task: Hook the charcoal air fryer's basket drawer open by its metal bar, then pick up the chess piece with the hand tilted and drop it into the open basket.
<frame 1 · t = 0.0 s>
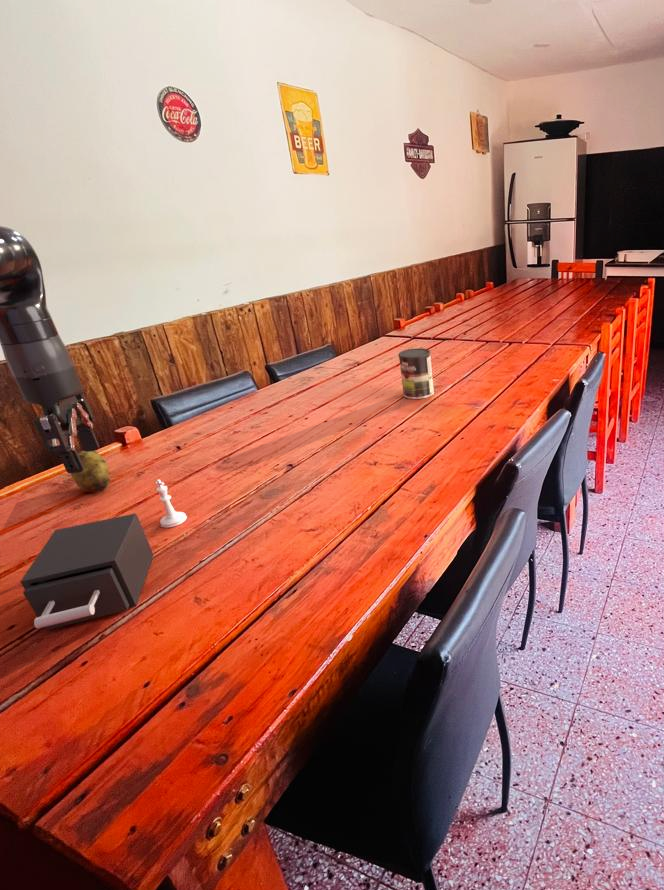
hand: (84, 460, 86), 22 cm above the table, tool pointing down, fingers open, 8 cm apart
fryer: (105, 588, 89), on the table
coffee can: (419, 394, 170), on the table
basket: (85, 584, 83), point 5 cm above the table, slide at 0.5 cm
chess piece: (174, 521, 108), on the table
potato: (96, 486, 124), on the table
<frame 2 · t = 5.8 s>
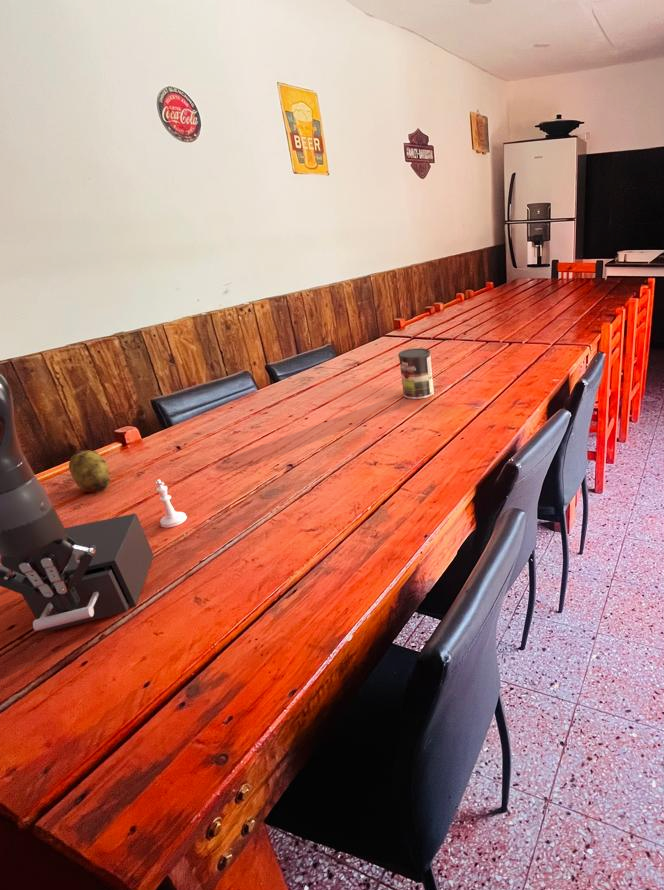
hand: (70, 609, 77), 6 cm above the table, tool pointing down, fingers closed
basket: (84, 586, 83), point 5 cm above the table, slide at 1.0 cm
everything else where it was.
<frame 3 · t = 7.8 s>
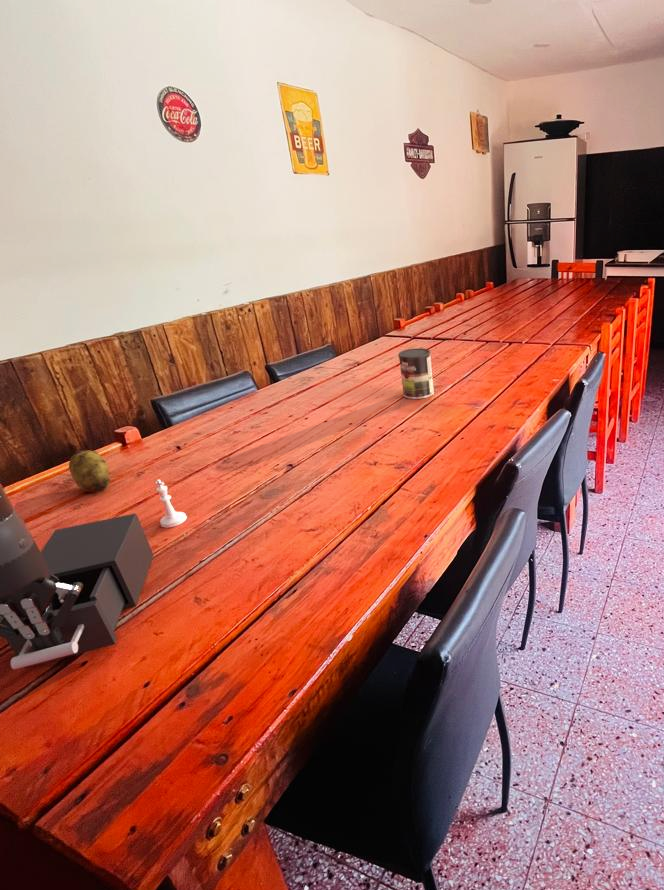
hand: (53, 650, 71), 5 cm above the table, tool pointing down, fingers closed
basket: (69, 617, 77), point 5 cm above the table, slide at 8.2 cm
everything else where it was.
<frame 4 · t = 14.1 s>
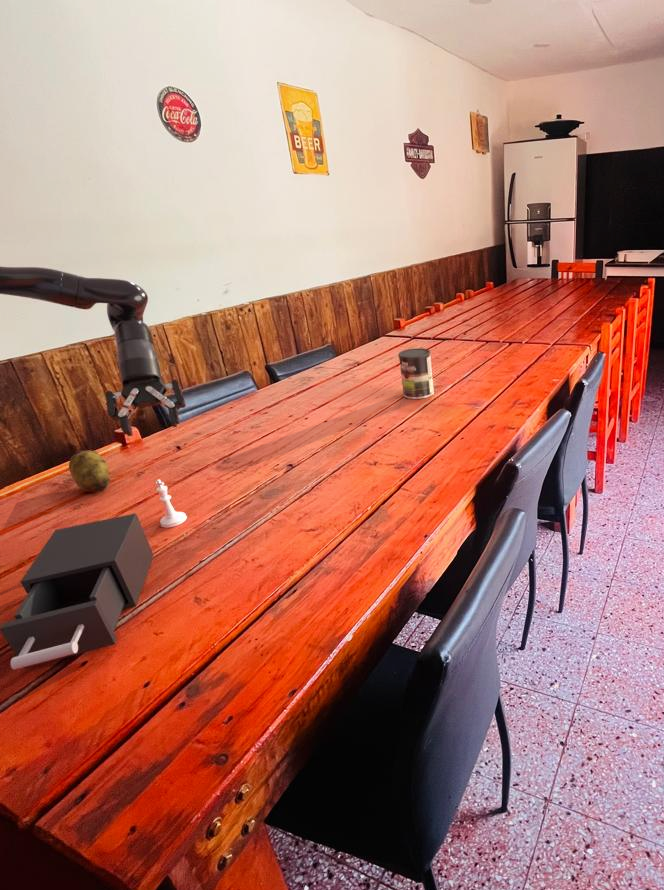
hand: (152, 430, 109), 17 cm above the table, tool tilted 45°, fingers open, 8 cm apart
nothing on the table moved.
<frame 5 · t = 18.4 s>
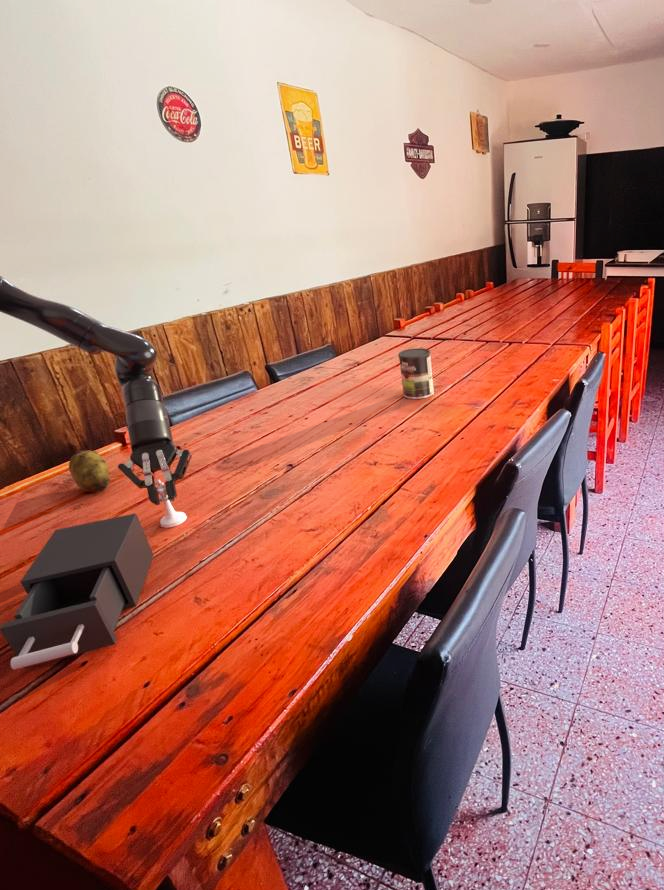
hand: (164, 501, 103), 6 cm above the table, tool tilted 45°, fingers closed on chess piece
chess piece: (174, 521, 108), on the table, touching gripper
everything else where it was.
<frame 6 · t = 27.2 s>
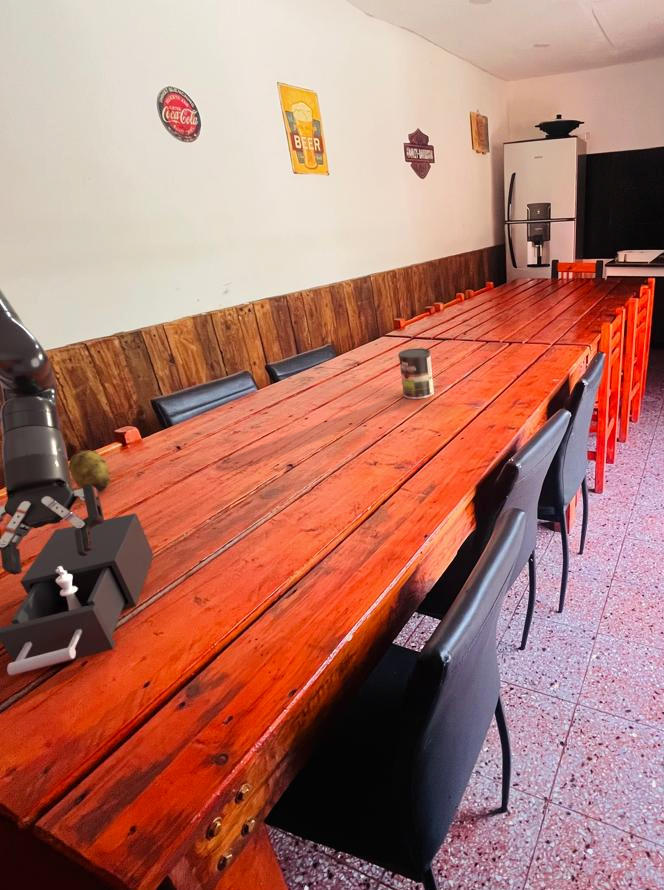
hand: (49, 563, 74), 14 cm above the table, tool tilted 45°, fingers open, 8 cm apart
basket: (67, 621, 76), point 5 cm above the table, slide at 9.2 cm, touching chess piece
chess piece: (80, 620, 80), point 2 cm above the table, touching basket
everything else where it was.
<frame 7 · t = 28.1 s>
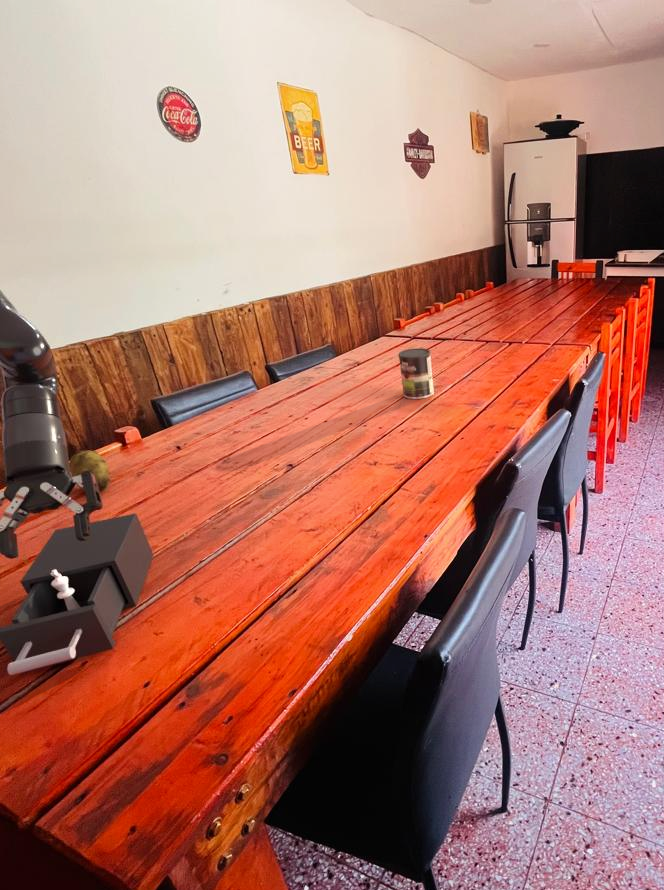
hand: (47, 548, 75), 15 cm above the table, tool tilted 45°, fingers open, 8 cm apart
nothing on the table moved.
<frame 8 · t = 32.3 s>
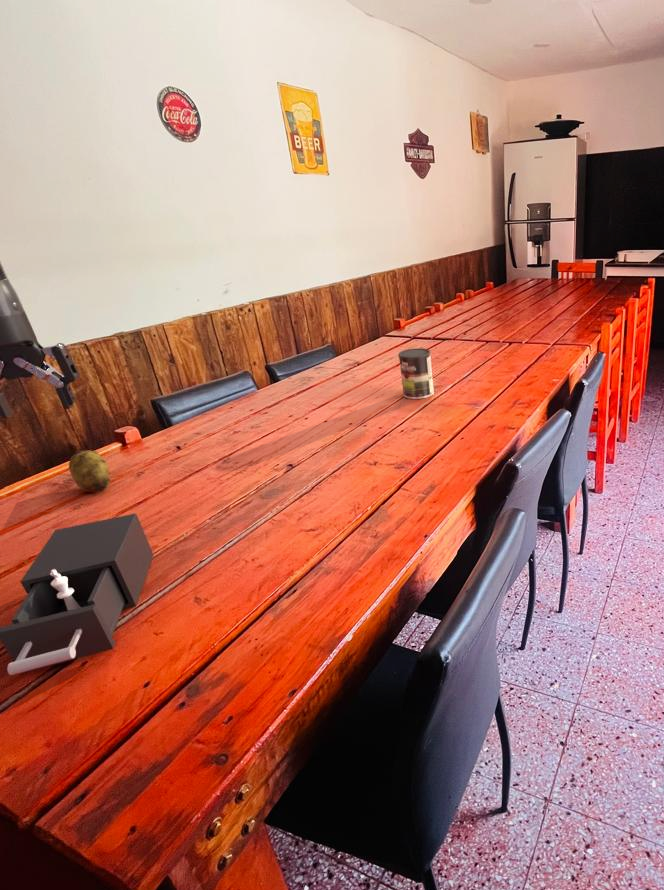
hand: (39, 412, 84), 30 cm above the table, tool pointing down, fingers open, 8 cm apart
nothing on the table moved.
at the end: basket slide at 9.2 cm; chess piece inside the target area in the basket (0.4 cm from its centre), point 1.8 cm above the fryer's base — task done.
